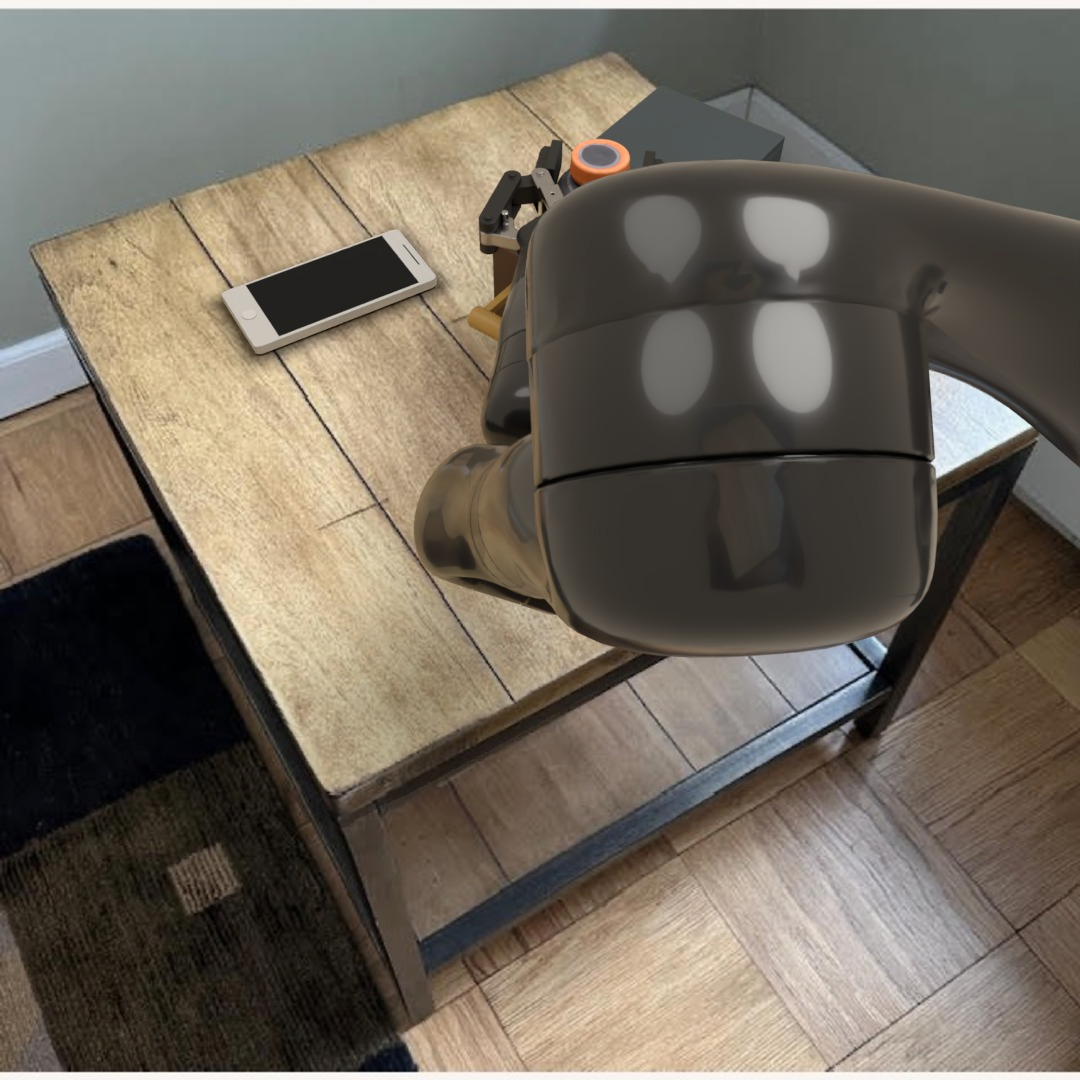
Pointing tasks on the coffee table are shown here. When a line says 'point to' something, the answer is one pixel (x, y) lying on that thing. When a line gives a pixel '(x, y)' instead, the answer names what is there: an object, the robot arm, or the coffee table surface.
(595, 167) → the pill bottle
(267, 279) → the smartphone
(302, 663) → the coffee table surface
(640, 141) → the cabinet
